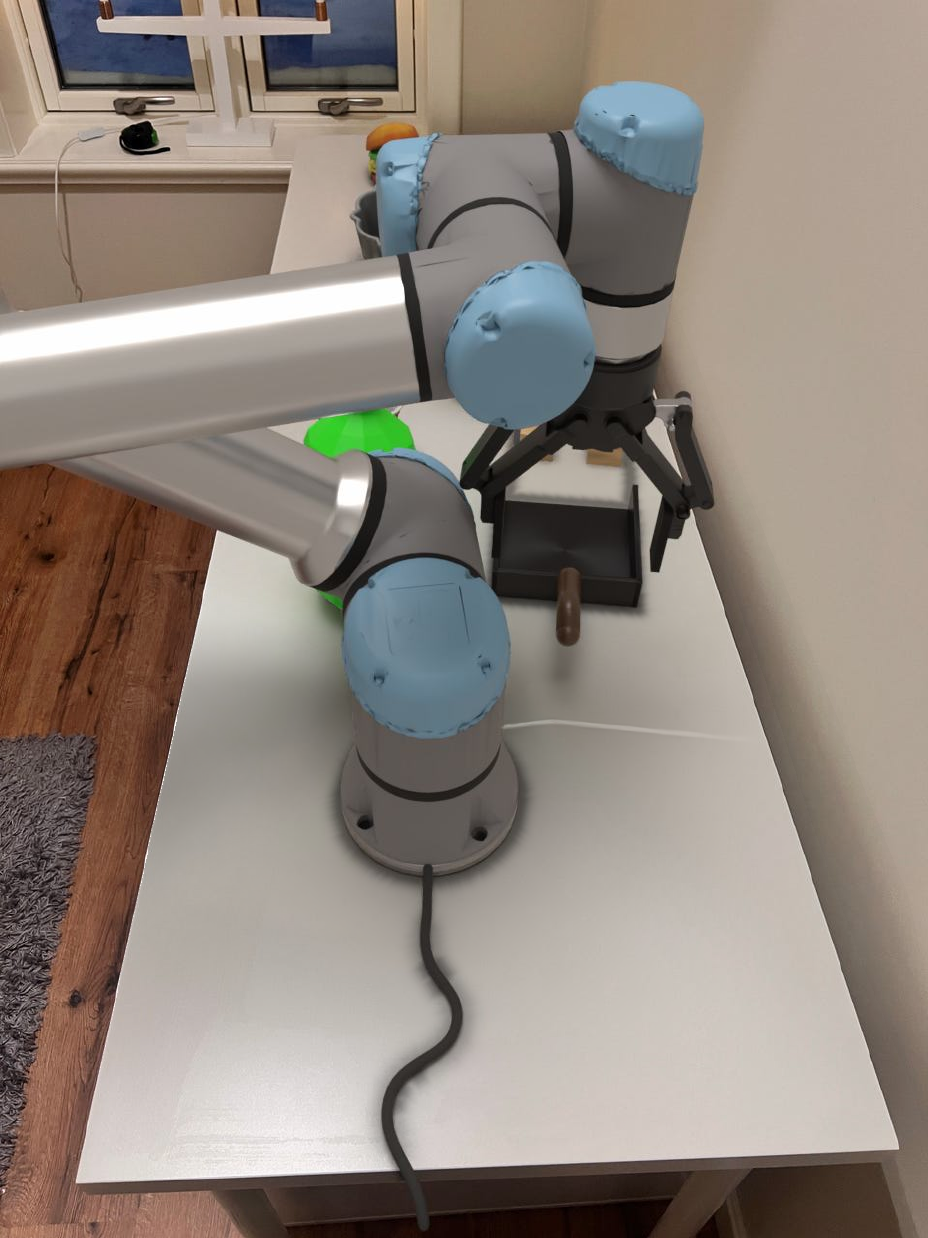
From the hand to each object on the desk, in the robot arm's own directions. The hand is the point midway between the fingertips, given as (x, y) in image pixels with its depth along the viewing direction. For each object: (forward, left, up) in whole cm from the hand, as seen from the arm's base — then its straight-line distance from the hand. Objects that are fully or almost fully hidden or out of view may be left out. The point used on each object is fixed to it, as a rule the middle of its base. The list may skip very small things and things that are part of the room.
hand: (575, 554), depth 82 cm
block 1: (+32, +4, -10) cm, 34 cm away
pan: (+9, 0, -15) cm, 17 cm away
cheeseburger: (+105, +32, -15) cm, 110 cm away
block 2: (+32, -4, -10) cm, 34 cm away
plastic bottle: (+6, +21, -14) cm, 26 cm away
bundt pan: (+73, +20, -15) cm, 77 cm away
